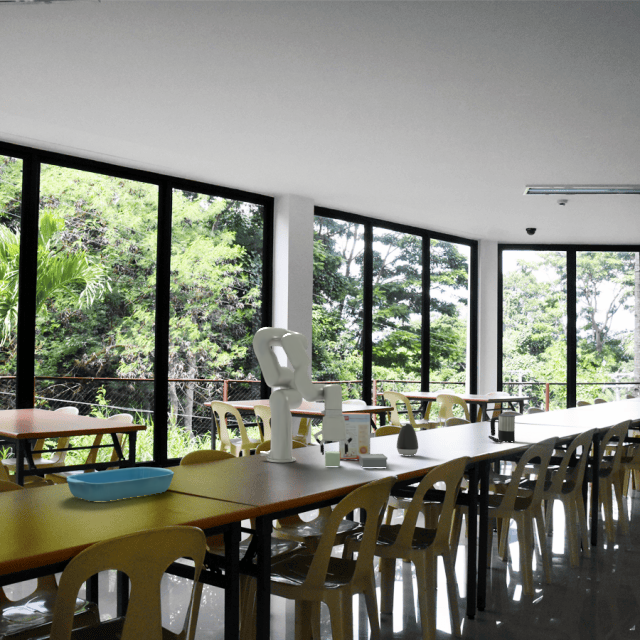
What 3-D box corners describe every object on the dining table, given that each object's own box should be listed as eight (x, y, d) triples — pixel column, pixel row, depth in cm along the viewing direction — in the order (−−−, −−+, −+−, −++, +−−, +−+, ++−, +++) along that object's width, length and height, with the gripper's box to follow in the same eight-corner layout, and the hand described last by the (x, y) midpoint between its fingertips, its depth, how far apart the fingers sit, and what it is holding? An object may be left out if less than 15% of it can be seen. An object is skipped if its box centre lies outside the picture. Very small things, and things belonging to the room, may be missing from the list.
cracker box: (370, 459, 311) (370, 412, 312) (370, 461, 305) (370, 413, 306) (339, 458, 312) (340, 412, 313) (338, 460, 306) (339, 413, 307)
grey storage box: (362, 469, 283) (362, 457, 283) (358, 465, 294) (358, 453, 294) (387, 469, 284) (387, 457, 284) (382, 465, 295) (382, 453, 295)
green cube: (325, 467, 286) (325, 453, 287) (325, 465, 292) (325, 451, 293) (339, 467, 286) (339, 453, 287) (339, 465, 292) (339, 451, 293)
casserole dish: (148, 483, 249) (149, 463, 249) (186, 491, 234) (187, 470, 235) (51, 498, 221) (52, 476, 222) (87, 509, 207) (88, 485, 207)
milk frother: (515, 441, 383) (515, 414, 384) (514, 444, 368) (514, 416, 369) (489, 439, 388) (489, 413, 388) (487, 443, 373) (487, 415, 373)
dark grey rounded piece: (421, 455, 325) (421, 423, 325) (413, 458, 315) (414, 424, 316) (401, 453, 329) (401, 421, 330) (393, 456, 320) (393, 423, 321)
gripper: (313, 414, 286) (314, 455, 285) (354, 413, 287) (355, 454, 286) (312, 413, 294) (313, 453, 293) (353, 412, 294) (354, 452, 293)
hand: (334, 454), depth 289 cm, fingers open, 9 cm apart
